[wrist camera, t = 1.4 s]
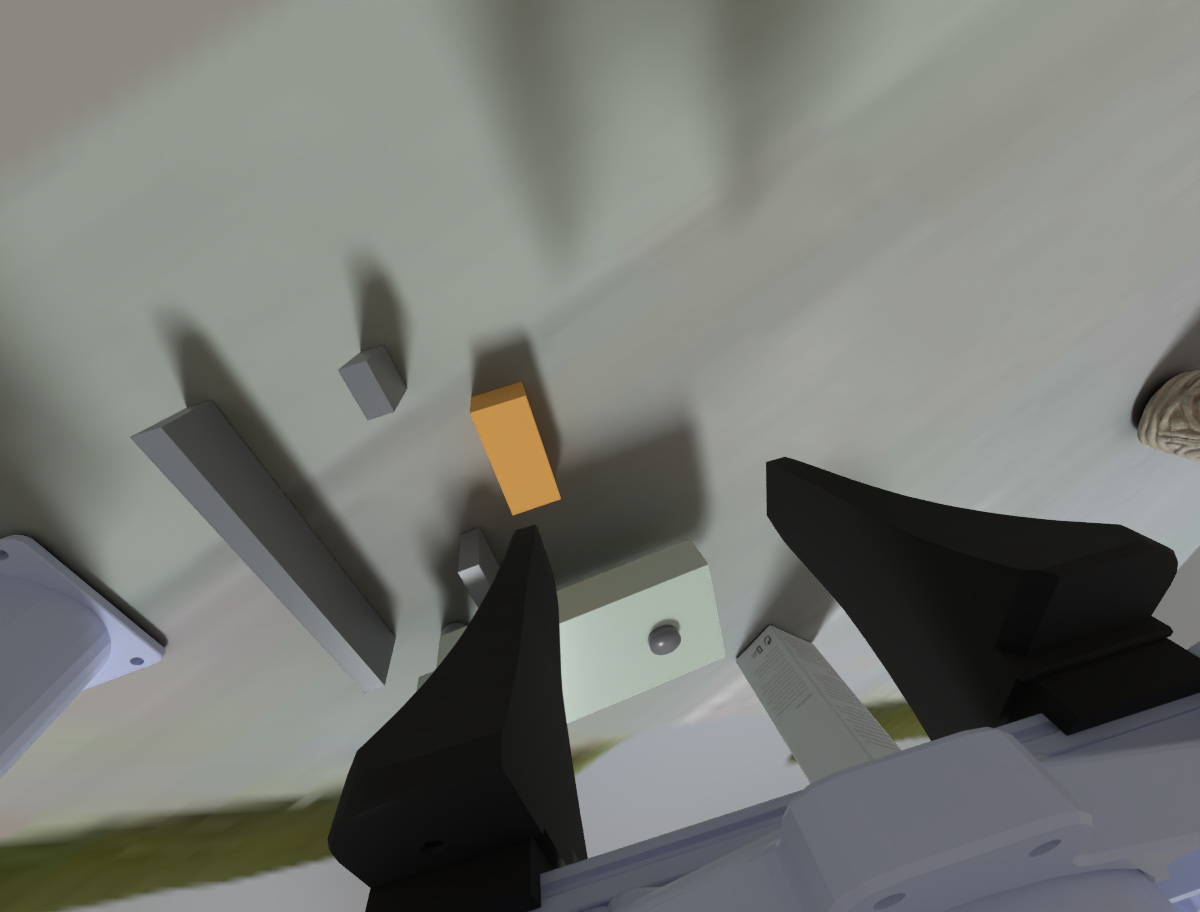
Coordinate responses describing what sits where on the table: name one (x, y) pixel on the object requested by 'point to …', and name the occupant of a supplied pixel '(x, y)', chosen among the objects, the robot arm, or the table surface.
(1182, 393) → the carving
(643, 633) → the cover
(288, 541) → the long grey beam
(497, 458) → the orange cuboid brick
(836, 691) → the skincare box
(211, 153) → the table surface
